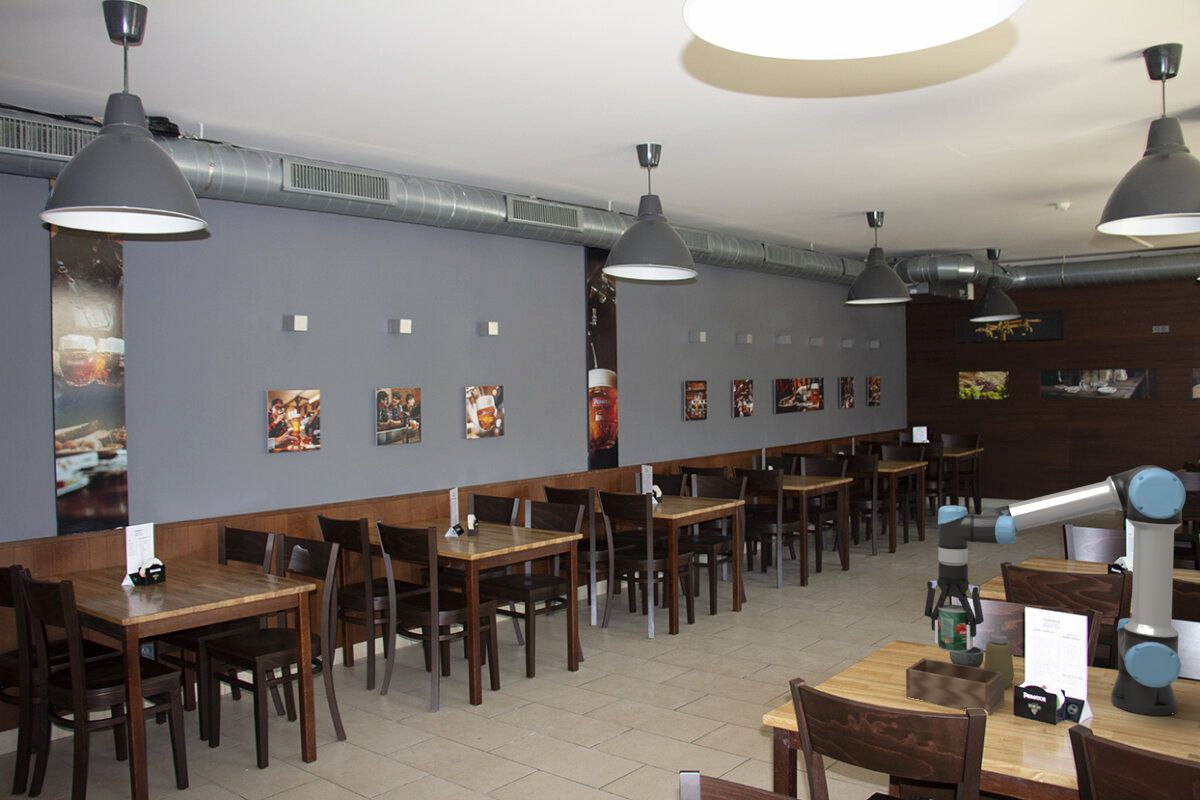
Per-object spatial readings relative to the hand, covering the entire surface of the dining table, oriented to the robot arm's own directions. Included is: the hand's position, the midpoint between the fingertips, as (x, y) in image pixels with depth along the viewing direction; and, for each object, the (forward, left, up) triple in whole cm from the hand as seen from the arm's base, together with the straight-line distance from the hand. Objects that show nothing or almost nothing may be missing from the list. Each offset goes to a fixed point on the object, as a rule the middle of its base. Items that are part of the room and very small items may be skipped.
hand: (953, 645), depth 246 cm
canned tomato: (0, 0, -1) cm, 1 cm away
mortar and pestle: (+6, -26, -15) cm, 31 cm away
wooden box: (0, 0, -15) cm, 15 cm away
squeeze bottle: (-6, -19, -15) cm, 25 cm away
